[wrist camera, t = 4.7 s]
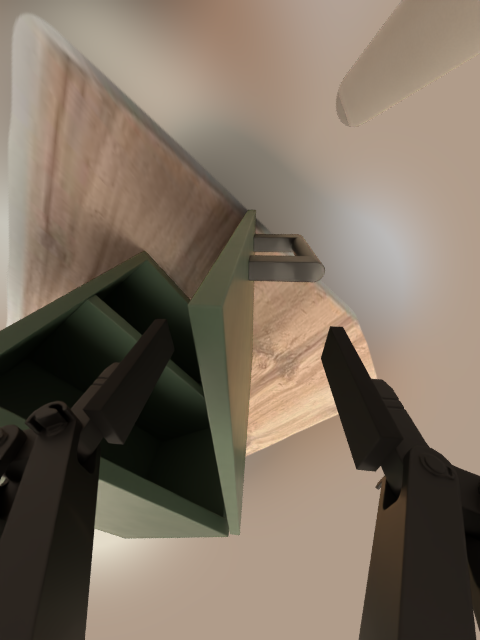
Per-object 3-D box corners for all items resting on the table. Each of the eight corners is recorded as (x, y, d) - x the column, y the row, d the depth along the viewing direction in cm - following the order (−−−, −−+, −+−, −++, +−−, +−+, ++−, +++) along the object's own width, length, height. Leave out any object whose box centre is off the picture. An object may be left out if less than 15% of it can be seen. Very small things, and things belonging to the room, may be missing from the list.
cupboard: (144, 250, 30) (-106, 389, 10) (246, 361, 40) (228, 536, 20) (83, 307, 37) (-133, 454, 17) (184, 388, 48) (125, 538, 28)
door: (303, 209, 25) (461, 315, 5) (281, 362, 39) (299, 544, 20) (247, 209, 25) (186, 304, 5) (247, 360, 40) (229, 534, 20)
